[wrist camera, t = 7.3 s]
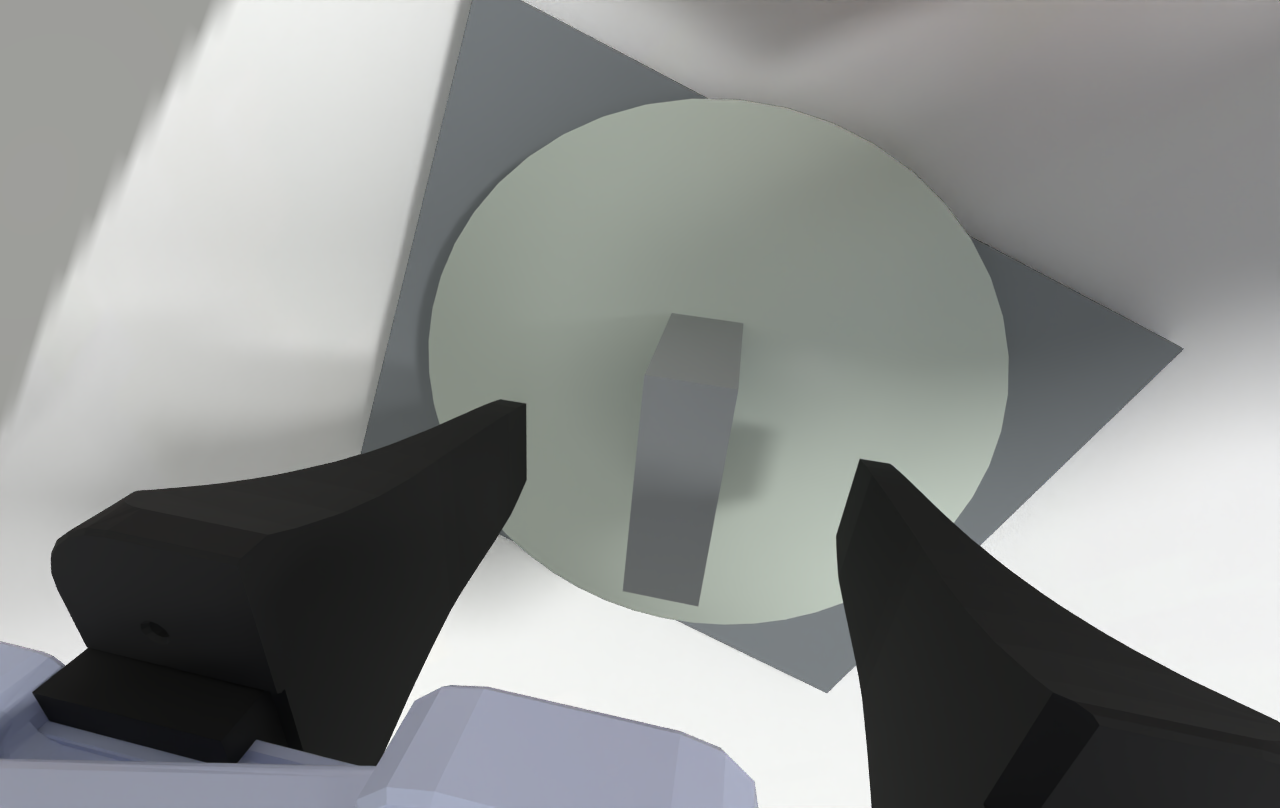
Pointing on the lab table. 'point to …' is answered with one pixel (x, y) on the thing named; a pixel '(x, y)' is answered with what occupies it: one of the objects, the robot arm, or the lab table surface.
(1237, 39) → the lab table surface
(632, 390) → the lid
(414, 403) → the mat
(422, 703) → the robot arm
